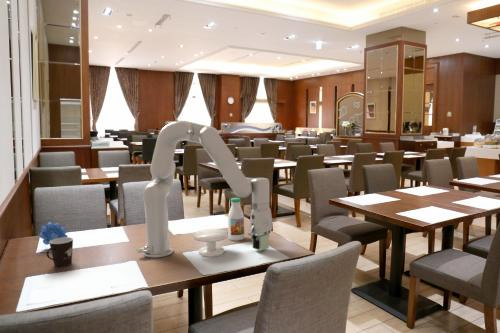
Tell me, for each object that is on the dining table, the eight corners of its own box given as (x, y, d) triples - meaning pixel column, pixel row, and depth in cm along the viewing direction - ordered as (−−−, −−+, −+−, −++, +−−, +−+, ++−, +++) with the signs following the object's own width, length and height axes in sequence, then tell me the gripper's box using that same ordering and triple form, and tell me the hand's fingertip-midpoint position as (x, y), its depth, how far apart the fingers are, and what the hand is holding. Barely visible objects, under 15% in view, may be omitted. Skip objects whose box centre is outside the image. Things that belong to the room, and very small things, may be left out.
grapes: (40, 252, 173) (38, 226, 171) (40, 248, 178) (38, 222, 177) (69, 247, 178) (67, 222, 177) (67, 243, 184) (66, 219, 183)
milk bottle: (225, 239, 186) (224, 199, 184) (233, 235, 193) (232, 196, 190) (239, 241, 182) (238, 200, 180) (247, 237, 189) (246, 197, 187)
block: (261, 250, 166) (261, 237, 165) (252, 248, 169) (252, 234, 169) (268, 247, 169) (268, 234, 169) (260, 245, 173) (260, 232, 172)
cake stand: (209, 261, 158) (208, 241, 157) (187, 253, 168) (186, 234, 167) (235, 252, 169) (235, 233, 168) (213, 244, 179) (212, 227, 178)
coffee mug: (68, 258, 163) (66, 236, 162) (78, 263, 158) (76, 239, 157) (39, 267, 154) (37, 243, 153) (49, 272, 149) (47, 247, 148)
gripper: (253, 210, 159) (253, 253, 161) (279, 204, 171) (279, 244, 173) (240, 208, 164) (240, 249, 166) (267, 202, 176) (267, 240, 178)
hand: (260, 246), depth 169 cm, fingers closed on block, 5 cm apart
